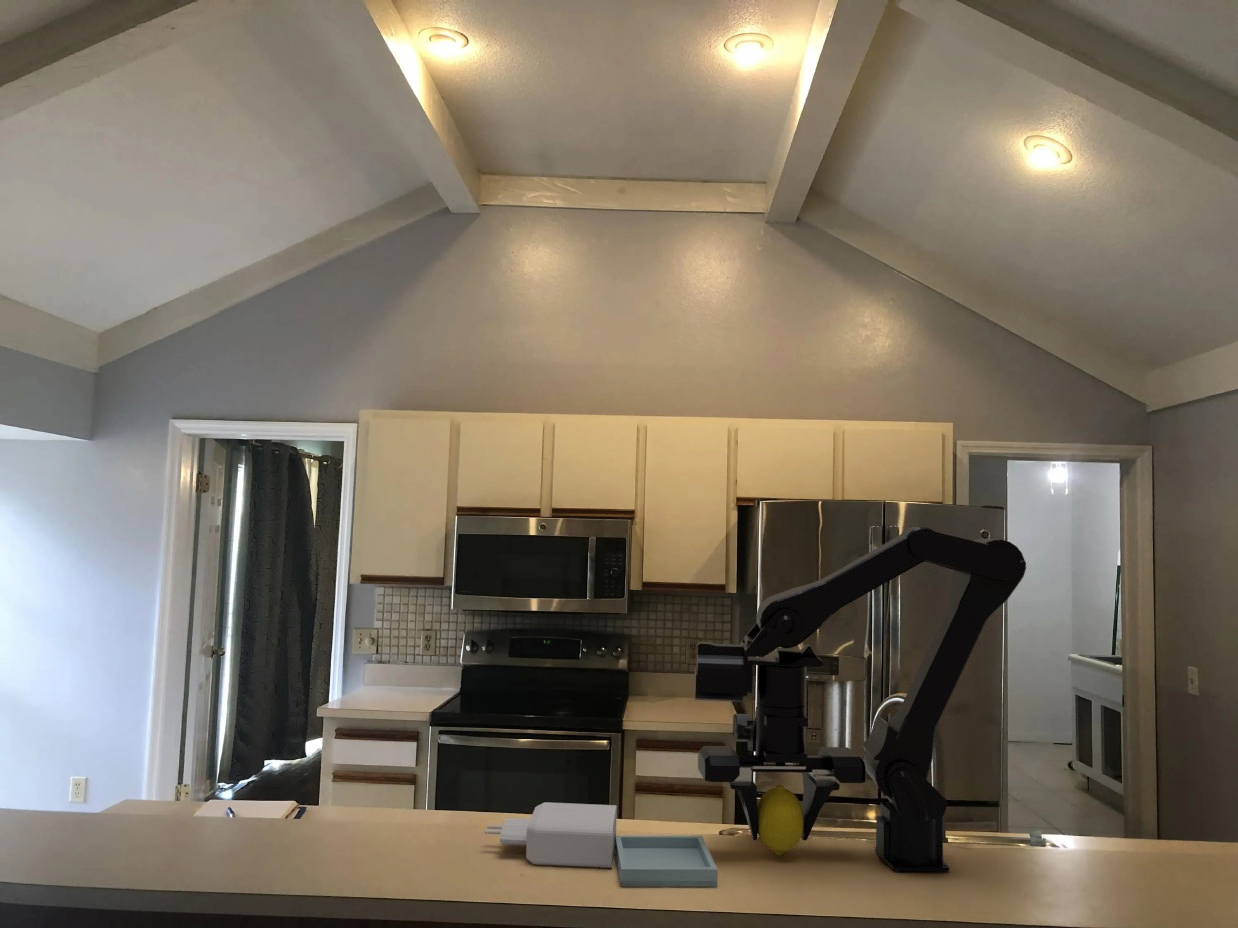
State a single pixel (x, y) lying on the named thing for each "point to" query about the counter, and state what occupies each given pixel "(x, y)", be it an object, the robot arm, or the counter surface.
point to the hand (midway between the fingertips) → (779, 839)
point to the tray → (664, 861)
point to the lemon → (780, 819)
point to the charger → (564, 834)
